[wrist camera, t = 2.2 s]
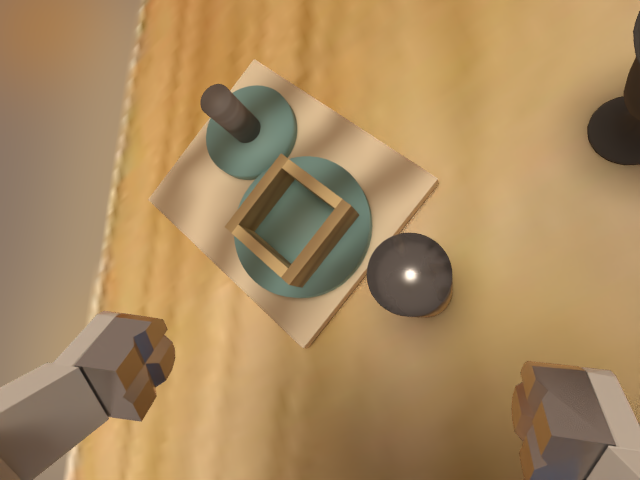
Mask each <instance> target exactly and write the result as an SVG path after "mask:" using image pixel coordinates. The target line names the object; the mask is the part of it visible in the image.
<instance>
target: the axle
mask: <svg viewBox="0 0 640 480" xmlns="http://www.w3.org/2000/svg"><path fill="white" fill-rule="evenodd" d="M367 282H368V286H369V289H370V291H371V294H372V295H373V297H374V298H375V300H376V301H377V302H378V303H379V304H380V305H381V306H382V307H383V308H385V309H386V310H388V311H390V312H391V313H394V314H397V315H401V316H408V317H432V316H435V315H437V314H439V313H441V312H442V311H443V310H445V308H446V307H447V306H448V305H449V303H450V301H451V298H452V268H451V263H450V261H449V258H448V256H447V254H446V252H445V251H444V250H443V248H442V247H441V246H440V245H439V244H438V243H436V242H435V241H434V240H432V239H431V238H429V237H427V236H424V235H421V234H417V233H401V234H397V235H394V236H392V237H390V238H388V239H386V240H385V241H383V242H382V243H381V244H380V245H379V246H378V247H377V248H376V249H375V250H374V252H373V253H372V255H371V257H370V260H369V262H368V267H367Z"/></svg>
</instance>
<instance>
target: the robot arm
mask: <svg viewBox="0 0 640 480" xmlns="http://www.w3.org/2000/svg"><path fill="white" fill-rule="evenodd" d="M167 330H168V329H167V327H166V324H165V322H164V320H163V319H158V318H152V317H145V316H138V315H131V314H125V313H116V312H109V311H103V312H101V313H99V314H97V315H96V316H95V317H94V318H93V319H92V320H91V321H90V323H89V324H88V325H87V326H86V327H85V328H84V329H83V330H82V332H80V334H79V335H78V336H77V337H76V338H75V339H74V340H73V341H72V343H71V344H70V345H69V346H68V347H67V348H66V349H65V350H64V351H63V353H62V354H61V355H60V356H59V357H58V358H57V359H56V360H55V361H54V362H53V363H45V364H43V365H42V366H40V367H38V368H36V369H34V370H32V371H30V372H28V373H26V374H25V375H23V376H21V377H19V378H17V379H15V380H13V381H11V382H9V383H8V384H6V385H4V386H2V387H0V480H33V479H34V478H35V477H37V476H38V475H39V474H40V473H42V472H43V471H44V470H46V469H47V468H48V467H49V466H51V465H52V464H53V463H54V462H56V461H57V460H58V459H59V458H61V457H62V456H63V455H64V454H66V453H67V452H68V451H69V450H71V449H72V448H73V447H74V446H76V445H77V444H78V443H79V442H81V441H82V440H83V439H84V438H86V437H87V436H88V435H89V434H91V433H92V432H93V431H95V430H96V429H97V428H98V427H100V426H101V425H102V424H103V423H105V422H106V421H107V420H108V419H109V418H108V417H113V418H120V419H127V420H134V421H142V420H143V418H144V417H145V415H146V413H147V412H148V410H149V408H150V407H151V405H152V403H153V402H154V400H155V398H156V397H157V395H156V387H157V386H158V385H160V384H161V383H163V382H164V381H166V380H167V378H168V376H169V374H170V373H171V371H172V368H173V365H174V361H175V348H174V345H173V342H172V341H171V340H170V339H168V338H167V337H166V336H165V335H164V334H165V333H166V331H167ZM520 373H521V377H522V381H523V382H522V383H520V384H518V385H517V386H515V389H514V393H513V396H512V408H511V410H512V421H513V426H514V431H515V433H516V434H517V435H518V436H519V437H520V439H521V440H522V441H523V444H522V447H521V449H520V452H519V456H520V461H521V465H522V470H523V475H524V480H640V425H639V423H638V421H637V419H636V417H635V414H634V412H633V410H632V408H631V406H630V404H629V402H628V400H627V398H626V396H625V394H624V392H623V390H622V387H621V385H620V383H619V381H618V379H617V377H616V375H615V374H614V373H613V372H612V371H611V370H602V369H594V368H585V367H579V366H570V365H561V364H551V363H542V362H532V361H527V362H525V363H524V364H523V367H522V370H521V372H520Z"/></svg>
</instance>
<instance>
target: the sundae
mask: <svg viewBox="0 0 640 480" xmlns="http://www.w3.org/2000/svg"><path fill="white" fill-rule="evenodd" d="M633 35H634V47H635V53H636V58H635V60H634V63H633V65H632V67H631V69H630V72H629V74H628V78H627V81H626V85H625V89H624V97H618V98H615V99H613V100H610V101H608V102H606V103H604V104H603V105H602V106H601V107H599V108H598V109H597V110H596V111H595V112H594V114H593V115H592V117H591V119H590V121H589V124H588V138H589V141H590V143H591V145H592V147H593V148H594V150H595V151H596V152H597V153H598V154H599V155H601V156H602V157H604V158H605V159H607V160H609V161H612V162H615V163H619V164H624V165H635V164H640V11H639V14H638V16H637V19H636V22H635V26H634V30H633Z"/></svg>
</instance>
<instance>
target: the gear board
mask: <svg viewBox="0 0 640 480" xmlns="http://www.w3.org/2000/svg"><path fill="white" fill-rule="evenodd" d="M201 108H202V110H203V111H204V112H205V113H206V114H207V115H208V116H209V117H210V118H209V120H208V121H207V122H206V124H205V125H204V126H203V128H202V129H201V130H200V132H199V133H198V134H197V136H196V137H195V138H194V140H193V141H192V142H191V143H190V145H189V146H188V147H187V149H186V150H185V151H184V153H183V154H182V155H181V157H180V158H179V159H178V161H177V162H176V163H175V165H174V166H173V167H172V169H171V170H170V171H169V173H168V174H167V175H166V177H165V178H164V179H163V181H162V182H161V183H160V185H159V186H158V187H157V189H156V190H155V191H154V193H153V194H152V195H151V197H150V198H149V199H148V200H149V201H150V202H151V203H152V204H153V205H154V206H155V207H156V208H157V209H158V210H160V211H161V212H162V213H163V214H164V215H165V216H166V217H167V218H168V219H169V220H170V221H171V222H172V223H173V224H174V225H175V226H176V227H177V228H178V229H179V230H180V231H181V232H182V233H183V234H184V235H186V236H187V237H188V238H189V239H190V240H191V241H192V242H193V243H194V244H195V245H196V246H197V247H198V248H199V249H200V250H201V251H202V252H203V253H204V254H205V255H206V256H207V257H208V258H209V259H210V260H212V261H213V262H214V263H215V264H216V265H217V266H218V267H219V268H220V269H221V270H222V271H223V272H224V273H225V274H226V275H227V276H228V277H229V278H230V279H231V280H232V281H233V282H234V283H235V284H236V285H238V286H239V287H240V288H241V289H242V290H243V291H244V292H245V293H246V294H247V295H248V296H249V297H250V298H251V299H252V300H253V301H254V302H255V303H256V304H257V305H258V306H259V307H260V308H261V309H262V310H264V311H265V312H266V313H267V314H268V315H269V316H270V317H271V318H272V319H273V320H274V321H275V322H276V323H277V324H278V325H279V326H280V327H281V328H282V329H283V330H284V331H285V332H286V333H287V334H288V335H290V336H291V337H292V338H293V339H294V340H295V341H296V342H297V343H298V344H299V345H300V346H301V347H302V348H308V347H309V346H310V345H311V344H312V342H313V341H314V340H315V339H316V337H317V336H318V335H319V334H320V332H321V331H322V330H323V329H324V327H325V326H326V325H327V323H328V322H329V321H330V320H331V318H332V317H333V316H334V315H335V313H336V312H337V311H338V310H339V308H340V307H341V306H342V305H343V303H344V302H345V301H346V300H347V298H348V297H349V296H350V295H351V293H352V292H353V291H354V290H355V288H356V287H357V286H358V284H359V283H360V282H361V281H362V279H363V278H364V277H365V276H366V274H367V267H368V262H369V260H370V257H371V255H372V253H373V252H374V250H375V249H376V248H377V247H378V246H379V245H380V244H381V243H382V242H383V241H385V240H386V239H388V238H390V237H392V236H394V235H397V234H399V233H400V232H401V230H402V229H403V228H404V227H405V225H406V224H407V223H408V222H409V220H410V219H411V218H412V217H413V215H414V214H415V213H416V211H417V210H418V209H419V208H420V206H421V205H422V204H423V203H424V201H425V200H426V199H427V198H428V196H429V195H430V194H431V193H432V191H433V190H434V189H435V188H436V186H437V185H438V184H439V182H438V178H437V177H435V176H434V175H432V174H430V173H429V172H427V171H426V170H424V169H423V168H421V167H420V166H418V165H417V164H415V163H414V162H412V161H410V160H409V159H407V158H406V157H404V156H403V155H401V154H400V153H398V152H397V151H395V150H393V149H392V148H390V147H389V146H387V145H386V144H384V143H383V142H381V141H380V140H378V139H377V138H375V137H373V136H372V135H370V134H369V133H367V132H366V131H364V130H363V129H361V128H360V127H358V126H357V125H355V124H353V123H352V122H350V121H349V120H347V119H346V118H344V117H343V116H341V115H340V114H338V113H336V112H335V111H333V110H332V109H330V108H329V107H327V106H326V105H324V104H323V103H321V102H320V101H318V100H316V99H315V98H313V97H312V96H310V95H309V94H307V93H306V92H304V91H303V90H301V89H299V88H298V87H296V86H295V85H293V84H292V83H290V82H289V81H287V80H286V79H284V78H283V77H281V76H279V75H278V74H276V73H275V72H273V71H272V70H270V69H269V68H267V67H266V66H264V65H263V64H261V63H259V62H258V61H256V60H255V59H254V60H253V61H252V63H251V64H250V65H249V67H248V68H247V69H246V70H245V72H244V73H243V74H242V76H241V77H240V78H239V80H238V81H237V82H236V84H235V85H234V86H233V88H232V89H231V90H229V89H228V88H227V87H226V86H224V85H222V84H215V85H212V86H210V87H209V88H207V89H206V91H205V92H204V93H203V95H202V97H201Z"/></svg>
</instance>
